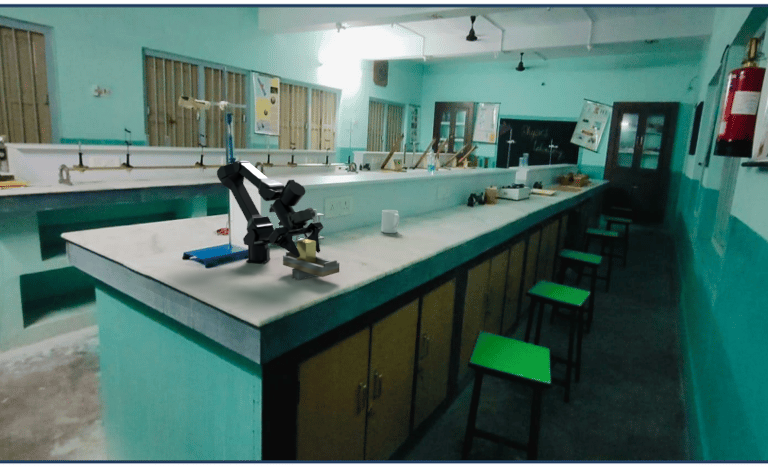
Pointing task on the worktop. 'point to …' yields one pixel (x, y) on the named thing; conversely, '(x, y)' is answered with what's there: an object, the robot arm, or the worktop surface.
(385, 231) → the mug
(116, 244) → the worktop surface
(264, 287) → the worktop surface
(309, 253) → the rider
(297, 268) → the grey open tray
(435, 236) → the worktop surface
